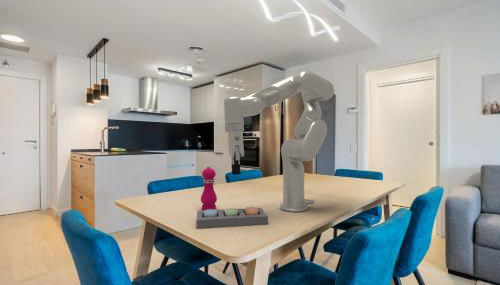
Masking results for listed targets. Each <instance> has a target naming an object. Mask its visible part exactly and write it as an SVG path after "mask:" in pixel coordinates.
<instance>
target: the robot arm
mask: <svg viewBox="0 0 500 285" xmlns="http://www.w3.org/2000/svg"><path fill="white" fill-rule="evenodd" d="M331 82H332V81H329V80H328V79H325V78H324V77H322V76H320V75H318V74H317V73H314V72H311V71H309V70H302V71H301V72H300V71H299V72H297V73H295V74H291V75H289V76H288V77H285V78H283V79H281V80H279V81H277V82H275V83H273V84H270V85H268V86H267V87H264V88H263V89H261V90H259V91H256V92H254V93H252V94H250V95H247V96H246V97H241V96H229V97H226V98H224V101H223V107H224V108H223V110H224V111H223V112H224V132H225V133H227V146H228V147H227V148H228V155H229V156H230V157H231V158H230V159H231V174H232V175H235V176H237V175H241V161H240V160H241V159H240V158H243V157H244V156H245V149H244V148H245V147H244V137H243V132H245V121H244V118H248V117H252V116H256V115H259V114H261V112H262V111H263V110H264V108H267V107H270V106H271V107H272V106H275V105H277V104H280V103H282V102H284V101H286V100H287V99H289V98H292V97H293V96H295V95H297V94H299V93H301V99H302V101H303V106H304V110H303V112H302V114H301V116H300V118H299V119H298V121H297V123H296V125H295V127H294V130H293V135H294V136H295V137H296V138H290V139H287V140H285V141H283V143H282V144H281V148H280V154H281V159H282V171H283V172H282V174H283V175H282V203H280V205H279V209H281V210H282V211H285V212H291V213H297V212H298V213H301V212H305V211H307V210H308V205H315V199H308V198H305V167H304V164H303V162H311V161H313V160H314V159H315V158H316V156H317V155H318V153H319V151H320V150H321V148H322V145H323V144H324V141H325V139H326V137H327V134H328V127H327V124H326V122H325V121H324V120H323V119H321V118H322V108H321V106H320V103H319V102H322V101H328V100H329V99H332V97H333V96H334V94H335V88H334V85H333V84H332V83H331Z"/></svg>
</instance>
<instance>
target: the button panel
mask: <svg viewBox="0 0 500 285" xmlns="http://www.w3.org/2000/svg"><path fill="white" fill-rule="evenodd" d="M246 208H247V207H246ZM246 208H245V207H244V208H237V209H238V215H237V216H225V209H216V210H217V217H204V210H197V211H196V229H197V230H198V229H213V228H214V229H215V228H229V227H231V228H232V227H245V226H262V225H263V226H264V225H269V216H268V214H267V213H266V212H265V211H264V210H263V208H262V207H257V208H258V214H255V215H245V209H246Z"/></svg>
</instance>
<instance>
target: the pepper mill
mask: <svg viewBox="0 0 500 285" xmlns="http://www.w3.org/2000/svg"><path fill="white" fill-rule="evenodd" d="M211 167H212V166H211V165H210V164H207V165H206V168H205V169H203V171H201V172H202V173H201V175H202V178H203V180H202V181H203V182H202V183H203V185H204V186H203V191H202V194H201V196H200V202H201V203H202V205H201V211H204V210H208V209H214V210H217V206H216V203H217V200H218V197H217V194H216V192H215V188H214V183H215V177H216V171H215V169H213V168H211Z"/></svg>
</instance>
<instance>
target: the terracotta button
mask: <svg viewBox="0 0 500 285" xmlns="http://www.w3.org/2000/svg"><path fill="white" fill-rule="evenodd" d="M258 208H259V207H253V206H252V207H250V206H249V207H246V209H245V208H244V209H245V215H255V214H258Z"/></svg>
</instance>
